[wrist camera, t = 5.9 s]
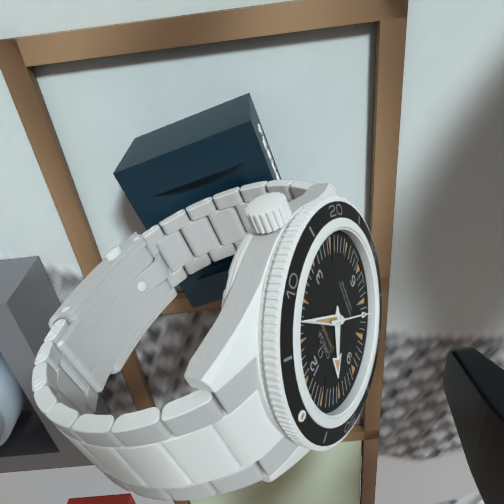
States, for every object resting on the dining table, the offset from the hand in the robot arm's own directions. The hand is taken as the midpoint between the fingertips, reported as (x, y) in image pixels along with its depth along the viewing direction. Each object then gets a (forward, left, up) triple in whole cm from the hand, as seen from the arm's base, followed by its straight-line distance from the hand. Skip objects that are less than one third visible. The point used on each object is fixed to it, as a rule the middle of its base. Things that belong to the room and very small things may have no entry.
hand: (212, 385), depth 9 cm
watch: (0, 0, -10) cm, 10 cm away
